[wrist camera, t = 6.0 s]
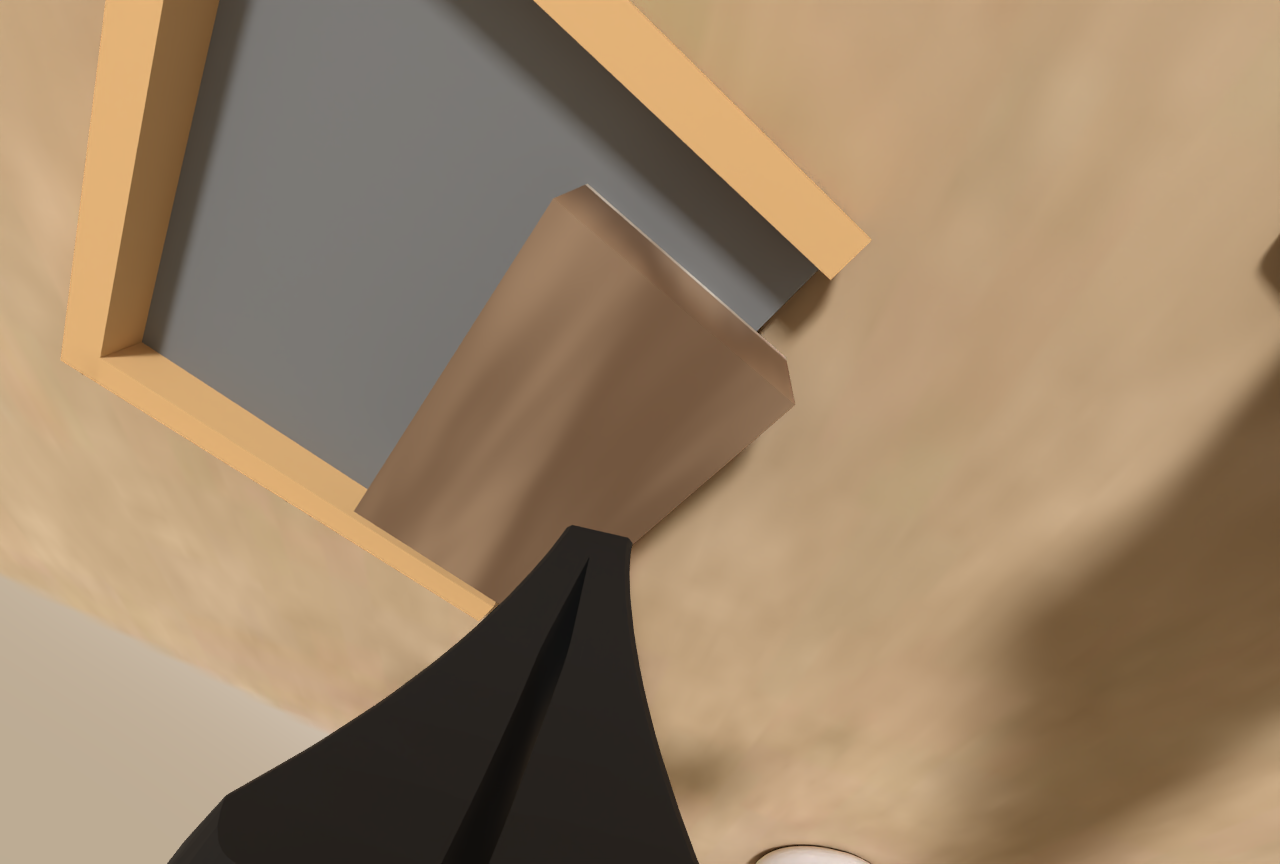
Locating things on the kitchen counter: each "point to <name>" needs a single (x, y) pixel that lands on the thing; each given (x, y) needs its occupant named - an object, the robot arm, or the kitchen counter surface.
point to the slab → (575, 403)
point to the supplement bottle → (809, 856)
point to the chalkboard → (386, 212)
